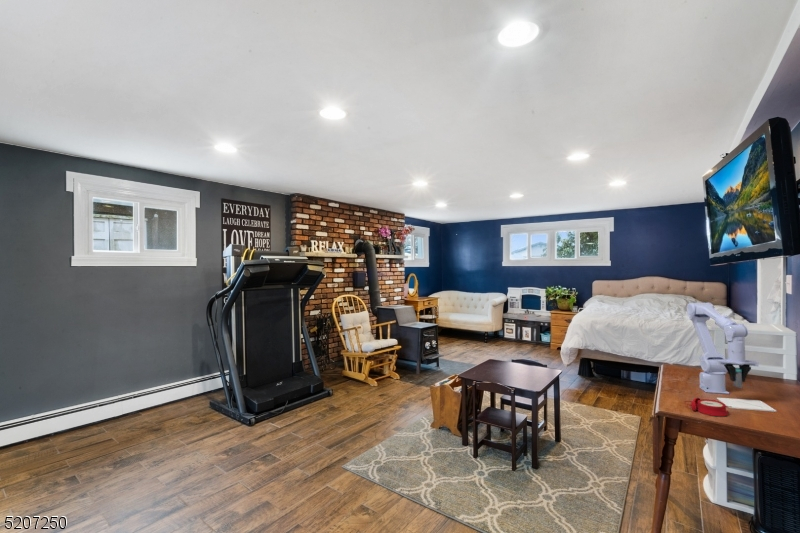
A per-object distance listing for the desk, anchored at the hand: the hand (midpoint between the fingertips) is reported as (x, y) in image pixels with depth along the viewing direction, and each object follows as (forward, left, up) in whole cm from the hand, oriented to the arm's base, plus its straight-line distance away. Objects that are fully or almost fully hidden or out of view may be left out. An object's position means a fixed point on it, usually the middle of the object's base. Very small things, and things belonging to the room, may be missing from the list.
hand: (737, 381), depth 169 cm
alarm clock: (-17, -15, -10) cm, 25 cm away
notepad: (+1, -4, -9) cm, 10 cm away
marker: (0, 0, -2) cm, 2 cm away
